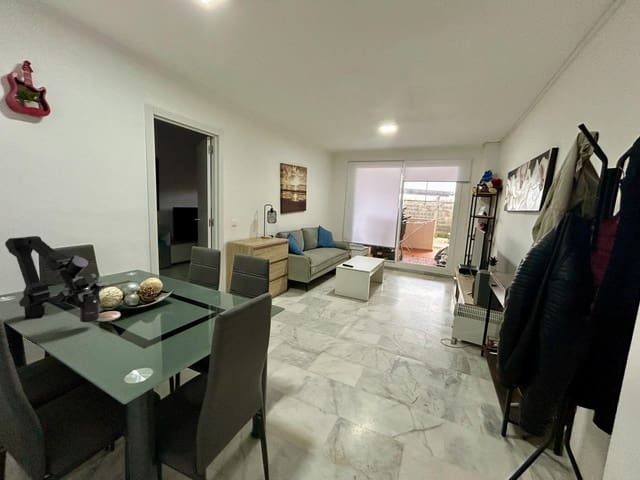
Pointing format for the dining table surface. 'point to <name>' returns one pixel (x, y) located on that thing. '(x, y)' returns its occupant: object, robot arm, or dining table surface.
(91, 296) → the supplement bottle
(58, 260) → the robot arm
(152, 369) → the dining table surface
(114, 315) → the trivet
